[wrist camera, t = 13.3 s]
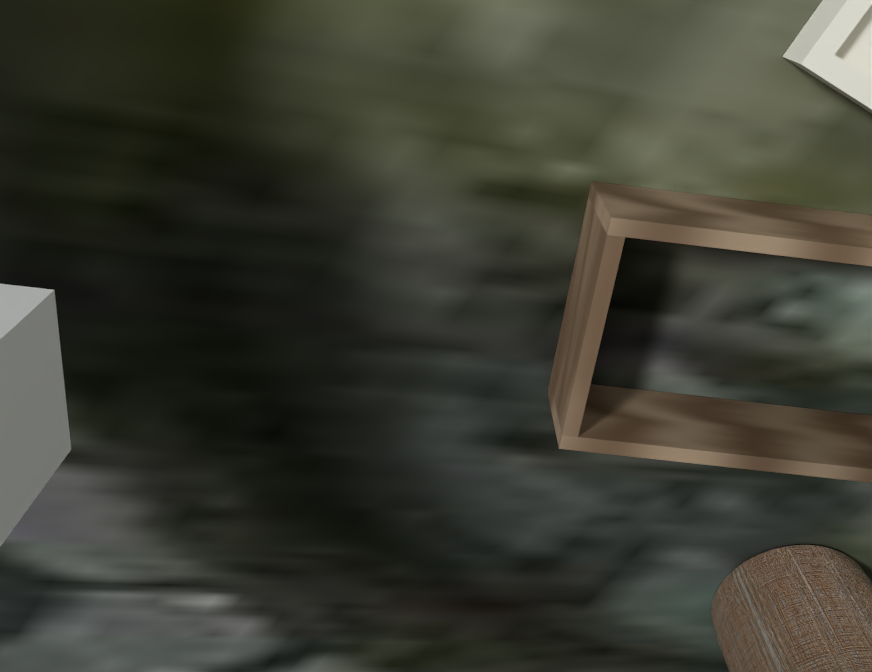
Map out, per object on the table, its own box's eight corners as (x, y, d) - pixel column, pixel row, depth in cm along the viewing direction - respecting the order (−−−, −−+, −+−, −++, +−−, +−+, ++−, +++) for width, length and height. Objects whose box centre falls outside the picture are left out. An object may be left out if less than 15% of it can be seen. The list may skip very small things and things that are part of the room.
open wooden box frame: (547, 391, 45) (559, 448, 40) (591, 181, 40) (611, 217, 35) (888, 430, 46) (941, 490, 41) (978, 228, 40) (1051, 270, 36)
